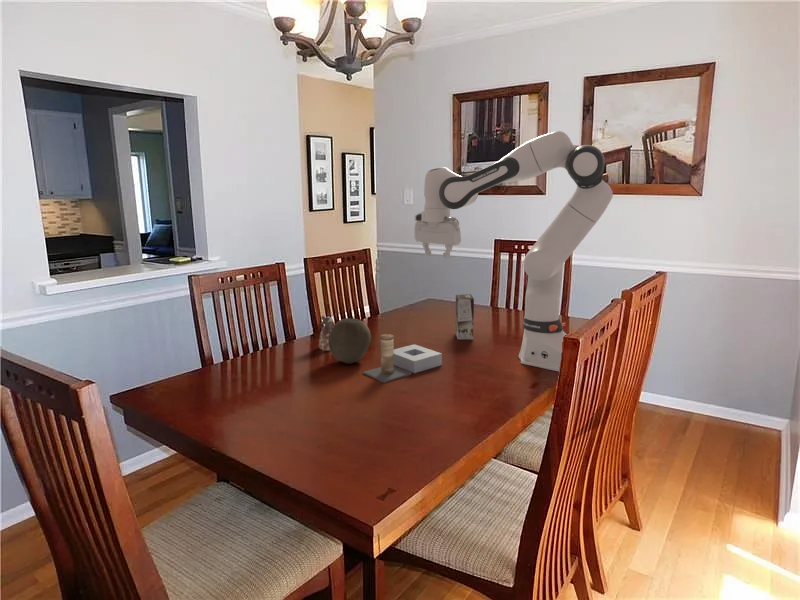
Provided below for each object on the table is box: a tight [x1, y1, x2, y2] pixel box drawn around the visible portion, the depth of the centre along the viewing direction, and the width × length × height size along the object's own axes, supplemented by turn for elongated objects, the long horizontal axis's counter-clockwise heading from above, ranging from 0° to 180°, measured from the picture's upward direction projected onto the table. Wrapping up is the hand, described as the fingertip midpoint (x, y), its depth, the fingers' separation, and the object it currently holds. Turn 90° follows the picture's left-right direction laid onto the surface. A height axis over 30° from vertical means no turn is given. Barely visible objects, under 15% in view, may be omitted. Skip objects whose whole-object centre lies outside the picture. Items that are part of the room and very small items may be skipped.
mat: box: [362, 365, 413, 384], centre depth 170 cm, size 11×11×1 cm
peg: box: [379, 333, 395, 375], centre depth 169 cm, size 4×4×12 cm
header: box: [394, 343, 443, 374], centre depth 179 cm, size 14×12×4 cm
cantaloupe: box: [329, 317, 372, 365], centre depth 181 cm, size 14×14×15 cm
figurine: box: [318, 315, 335, 351], centre depth 198 cm, size 7×7×12 cm
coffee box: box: [455, 293, 475, 340], centre depth 209 cm, size 9×6×16 cm
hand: (437, 256), depth 187 cm, fingers open, 8 cm apart
